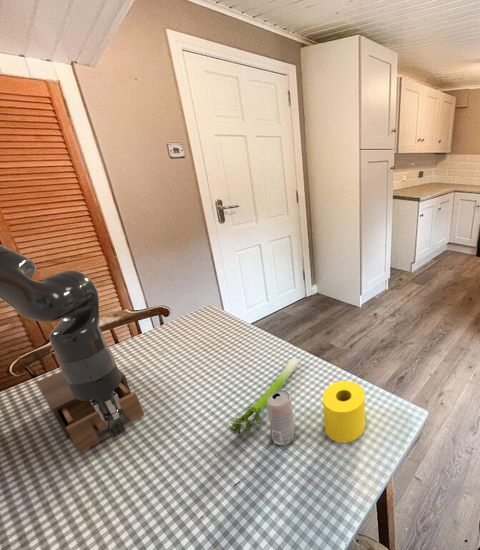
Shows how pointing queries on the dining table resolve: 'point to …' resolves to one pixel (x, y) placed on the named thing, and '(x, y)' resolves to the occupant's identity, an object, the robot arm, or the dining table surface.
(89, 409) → the drawer
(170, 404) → the dining table surface
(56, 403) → the cabinet
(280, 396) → the energy drink
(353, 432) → the yellow toilet paper roll
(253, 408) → the celery stalk
